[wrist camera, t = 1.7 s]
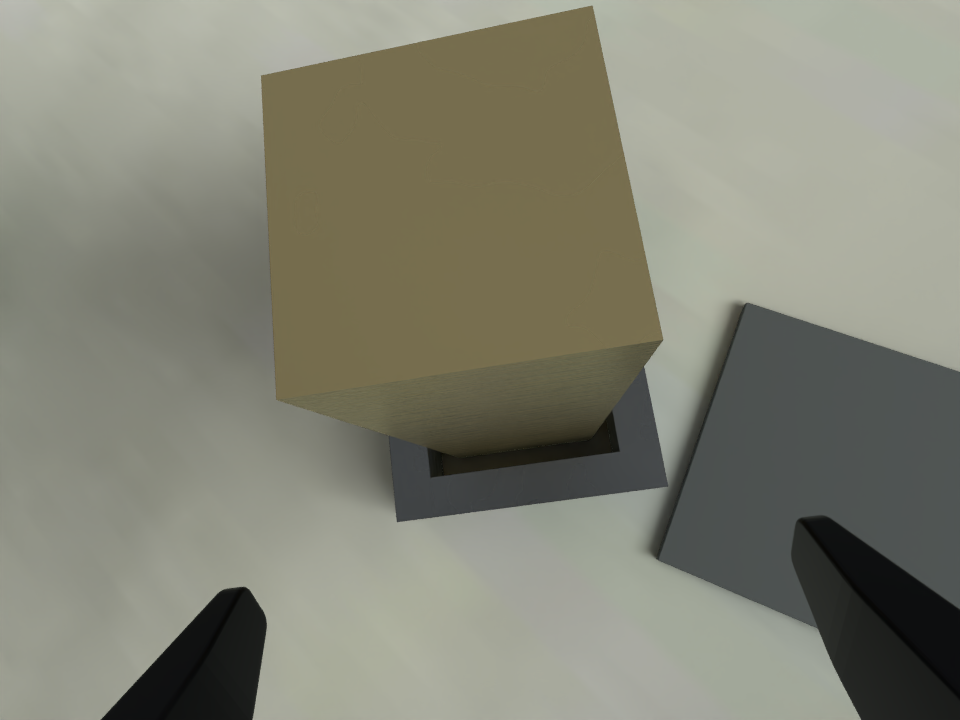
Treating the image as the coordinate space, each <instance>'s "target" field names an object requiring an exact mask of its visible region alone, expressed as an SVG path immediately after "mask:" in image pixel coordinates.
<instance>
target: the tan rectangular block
mask: <svg viewBox="0 0 960 720" xmlns="http://www.w3.org/2000/svg"><path fill="white" fill-rule="evenodd" d="M261 83H262V105H263V126H264V147H265V168H266V189H267V210H268V231H269V253H270V274H271V295H272V316H273V337H274V358H275V379H276V400H278V401H282V402H285V403H288V404H291V405H294V406H297V407H301V408H304V409H307V410H310V411H313V412H316V413H320V414H323V415H326V416H329V417H332V418H335V419H338V420H342V421H345V422H348V423H351V424H354V425H357V426H361V427H364V428H367V429H370V430H373V431H376V432H379V433H383V434H386V435H389V436H392V437H395V438H398V439H402V440H405V441H408V442H411V443H414V444H417V445H420V446H424V447H427V448H430V449H433V450H436V451H439V452H443V453H446V454H449V455H452V456H455V457H458V458H464V457H471V456H478V455H485V454H492V453H499V452H506V451H514V450H521V449H528V448H535V447H542V446H549V445H556V444H563V443H570V442H578V441H585V440H591V438H592V437H593V436H594V434H595V433H596V431H597V430H598V429H599V427H600V426H601V425H602V423H603V422H604V420H605V419H606V418H607V416H608V415H609V414H610V412H611V411H612V409H613V408H614V407H615V405H616V404H617V403H618V401H619V400H620V399H621V397H622V396H623V394H624V393H625V392H626V390H627V389H628V388H629V386H630V385H631V383H632V382H633V381H634V379H635V378H636V377H637V375H638V374H639V372H640V371H641V370H642V368H643V367H644V366H645V364H646V363H647V362H648V360H649V359H650V357H651V356H652V355H653V353H654V352H655V351H656V349H657V348H658V346H659V345H660V344H661V342H662V341H663V336H662V331H661V327H660V322H659V317H658V313H657V308H656V303H655V298H654V294H653V289H652V284H651V280H650V275H649V270H648V265H647V261H646V256H645V251H644V247H643V242H642V237H641V232H640V228H639V223H638V218H637V213H636V209H635V204H634V199H633V195H632V190H631V185H630V180H629V176H628V171H627V166H626V162H625V157H624V152H623V147H622V143H621V138H620V133H619V129H618V124H617V119H616V114H615V110H614V105H613V100H612V96H611V91H610V86H609V81H608V77H607V72H606V67H605V62H604V58H603V53H602V48H601V44H600V39H599V34H598V29H597V25H596V20H595V15H594V11H593V6H588V7H584V8H579V9H574V10H569V11H565V12H560V13H555V14H551V15H546V16H541V17H536V18H532V19H527V20H522V21H517V22H513V23H508V24H503V25H499V26H494V27H489V28H484V29H480V30H475V31H470V32H465V33H461V34H456V35H451V36H447V37H442V38H437V39H432V40H428V41H423V42H418V43H413V44H409V45H404V46H399V47H395V48H390V49H385V50H380V51H376V52H371V53H366V54H361V55H357V56H352V57H347V58H343V59H338V60H333V61H328V62H324V63H319V64H314V65H309V66H305V67H300V68H295V69H291V70H286V71H281V72H276V73H272V74H267V75H262V76H261Z"/></svg>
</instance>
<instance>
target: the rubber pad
mask: <svg viewBox="0 0 960 720" xmlns="http://www.w3.org/2000/svg"><path fill="white" fill-rule="evenodd" d="M816 515H825V516H828V517H830V518H831V519H833V520H834V521H836V522H837V523H839V524H840V525H841V526H843V527H844V528H846V529H847V530H849V531H850V532H851V533H853V534H854V535H856V536H857V537H858V538H860V539H861V540H863V541H864V542H866V543H867V544H868V545H870V546H871V547H873V548H874V549H876V550H877V551H878V552H880V553H881V554H883V555H884V556H885V557H887V558H888V559H890V560H891V561H893V562H894V563H895V564H897V565H898V566H900V567H901V568H902V569H904V570H905V571H907V572H908V573H910V574H911V575H912V576H914V577H915V578H917V579H918V580H920V581H921V582H922V583H924V584H925V585H927V586H928V587H929V588H931V589H932V590H934V591H935V592H937V593H938V594H939V595H941V596H942V597H944V598H945V599H947V600H948V601H949V602H951V603H952V604H954V605H955V606H956V607H958V608H959V609H960V372H958V371H955V370H952V369H949V368H946V367H943V366H940V365H937V364H934V363H931V362H928V361H925V360H921V359H918V358H915V357H912V356H909V355H906V354H903V353H900V352H897V351H894V350H891V349H888V348H885V347H882V346H879V345H876V344H873V343H869V342H866V341H863V340H860V339H857V338H854V337H851V336H848V335H845V334H842V333H839V332H836V331H833V330H830V329H827V328H824V327H820V326H817V325H814V324H811V323H808V322H805V321H802V320H799V319H796V318H793V317H790V316H787V315H784V314H781V313H778V312H775V311H772V310H768V309H765V308H762V307H759V306H756V305H753V304H750V303H746V304H745V305H744V307H743V310H742V312H741V315H740V318H739V321H738V324H737V327H736V330H735V333H734V336H733V338H732V341H731V344H730V347H729V350H728V353H727V356H726V359H725V362H724V365H723V367H722V370H721V373H720V376H719V379H718V382H717V385H716V388H715V391H714V394H713V396H712V399H711V402H710V405H709V408H708V411H707V414H706V417H705V420H704V422H703V425H702V428H701V431H700V434H699V437H698V440H697V443H696V446H695V449H694V451H693V454H692V457H691V460H690V463H689V466H688V469H687V472H686V475H685V478H684V480H683V483H682V486H681V489H680V492H679V495H678V498H677V501H676V504H675V507H674V509H673V512H672V515H671V518H670V521H669V524H668V527H667V530H666V533H665V535H664V538H663V541H662V544H661V547H660V550H659V553H658V556H657V560H659V561H661V562H664V563H666V564H668V565H671V566H673V567H675V568H678V569H680V570H682V571H685V572H687V573H689V574H692V575H694V576H697V577H699V578H701V579H704V580H706V581H708V582H711V583H713V584H715V585H718V586H720V587H722V588H725V589H727V590H729V591H732V592H734V593H736V594H739V595H741V596H743V597H746V598H748V599H750V600H753V601H755V602H757V603H760V604H762V605H764V606H767V607H769V608H771V609H774V610H776V611H778V612H781V613H783V614H785V615H788V616H790V617H792V618H795V619H797V620H799V621H802V622H804V623H806V624H809V625H811V626H814V627H816V628H818V627H817V625H816V622H815V620H814V617H813V615H812V612H811V610H810V607H809V605H808V602H807V600H806V597H805V594H804V592H803V589H802V587H801V584H800V582H799V579H798V577H797V574H796V572H795V569H794V567H793V563H792V559H791V548H792V541H793V535H794V529H795V524H796V521H797V520H798V519H799V518H801V517H808V516H816Z"/></svg>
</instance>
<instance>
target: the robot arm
mask: <svg viewBox="0 0 960 720" xmlns="http://www.w3.org/2000/svg"><path fill="white" fill-rule="evenodd" d="M791 559H792V563H793V567H794V569H795V572H796V574H797V577H798V579H799V582H800V584H801V587H802V589H803V592H804V594H805V597H806V600H807V602H808V605H809V607H810V610H811V612H812V615H813V617H814V620H815V622H816V625H817V627H818V630H819V632H820V635H821V637H822V640H823V642H824V645H825V647H826V650H827V652H828V654H829V657H830V659H831V661H832V664H833V666H834V668H835V670H836V672H837V674H838V676H839V678H840V680H841V682H842V684H843V686H844V688H845V690H846V691H847V693H848V695H849V697H850V699H851V701H852V703H853V705H854V707H855V709H856V711H857V712H858V714H859V716H860V718H861V720H960V609H959V608H958V607H956V606H955V605H954V604H952V603H951V602H949V601H948V600H947V599H945V598H944V597H942V596H941V595H939V594H938V593H937V592H935V591H934V590H932V589H931V588H929V587H928V586H927V585H925V584H924V583H922V582H921V581H920V580H918V579H917V578H915V577H914V576H912V575H911V574H910V573H908V572H907V571H905V570H904V569H902V568H901V567H900V566H898V565H897V564H895V563H894V562H893V561H891V560H890V559H888V558H887V557H885V556H884V555H883V554H881V553H880V552H878V551H877V550H876V549H874V548H873V547H871V546H870V545H868V544H867V543H866V542H864V541H863V540H861V539H860V538H858V537H857V536H856V535H854V534H853V533H851V532H850V531H849V530H847V529H846V528H844V527H843V526H841V525H840V524H839V523H837V522H836V521H834V520H833V519H831V518H830V517H828V516H825V515H816V516H808V517H801V518H799V519H798V520H797V521H796V524H795V529H794V535H793V541H792V548H791ZM266 629H267V622H266V617H265V614H264V612H263V610H262V609H261V607H260V606H259V604H258V602H257V601H256V599H255V598H254V596H253V594H252V593H251V591H250V590H249V589H248V588H246V587H237V588H229V589H224V590H222V591H220V592H219V593H218V594H217V595H216V596H215V597H214V598H213V599H212V600H211V601H210V602H209V603H208V605H207V606H206V607H205V608H204V609H203V610H202V611H201V612H200V613H199V614H198V615H197V616H196V618H195V619H194V620H193V621H192V622H191V623H190V624H189V625H188V626H187V627H186V628H185V629H184V630H183V632H182V633H181V634H180V635H179V636H178V637H177V638H176V639H175V640H174V641H173V642H172V643H171V645H170V646H169V647H168V648H167V649H166V650H165V651H164V652H163V653H162V654H161V655H160V656H159V657H158V659H157V660H156V661H155V662H154V663H153V664H152V665H151V666H150V667H149V668H148V669H147V670H146V672H145V673H144V674H143V675H142V676H141V677H140V678H139V679H138V680H137V681H136V682H135V683H134V684H133V686H132V687H131V688H130V689H129V690H128V691H127V692H126V693H125V694H124V695H123V696H122V697H121V699H120V700H119V701H118V702H117V703H116V704H115V705H114V706H113V707H112V708H111V709H110V710H109V711H108V713H107V714H106V715H105V716H104V717H103V718H102V719H101V720H252V719H253V713H254V708H255V702H256V695H257V688H258V682H259V675H260V669H261V662H262V656H263V649H264V643H265V636H266Z"/></svg>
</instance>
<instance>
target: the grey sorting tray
mask: <svg viewBox="0 0 960 720" xmlns="http://www.w3.org/2000/svg"><path fill="white" fill-rule="evenodd" d="M606 422H607V427H608V433H609V438H610V444H611V449H612V453H607V454H599V455H592V456H585V457H578V458H570V459H563V460H556V461H548V462H541V463H534V464H527V465H519V466H512V467H505V468H498V469H490V470H483V471H476V472H469V473H461V474H454V475H447V476H444V474H443V465H442V456H441V452H439V451H436V450H433V449H430V448H427V447H424V446H420V445H417V444H414V443H411V442H408V441H405V440H402V439H398V438H395V437H392V436H389V442H390V453H391V464H392V475H393V486H394V496H395V507H396V518H397V522H401V521H409V520H417V519H424V518H432V517H439V516H447V515H455V514H462V513H470V512H478V511H485V510H493V509H500V508H508V507H516V506H523V505H531V504H538V503H546V502H554V501H561V500H569V499H577V498H584V497H592V496H599V495H607V494H615V493H622V492H630V491H638V490H645V489H653V488H660V487H668V483H667V478H666V473H665V468H664V463H663V458H662V453H661V448H660V443H659V438H658V433H657V428H656V423H655V418H654V413H653V408H652V403H651V398H650V394H649V389H648V384H647V379H646V374H645V369H644V367H643V368H642V370H641V371H640V372H639V374H638V375H637V377H636V378H635V379H634V381H633V382H632V383H631V385H630V386H629V388H628V389H627V390H626V392H625V393H624V394H623V396H622V397H621V399H620V400H619V401H618V403H617V404H616V405H615V407H614V408H613V409H612V411H611V412H610V414H609V415H608V416H607V418H606Z"/></svg>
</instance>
